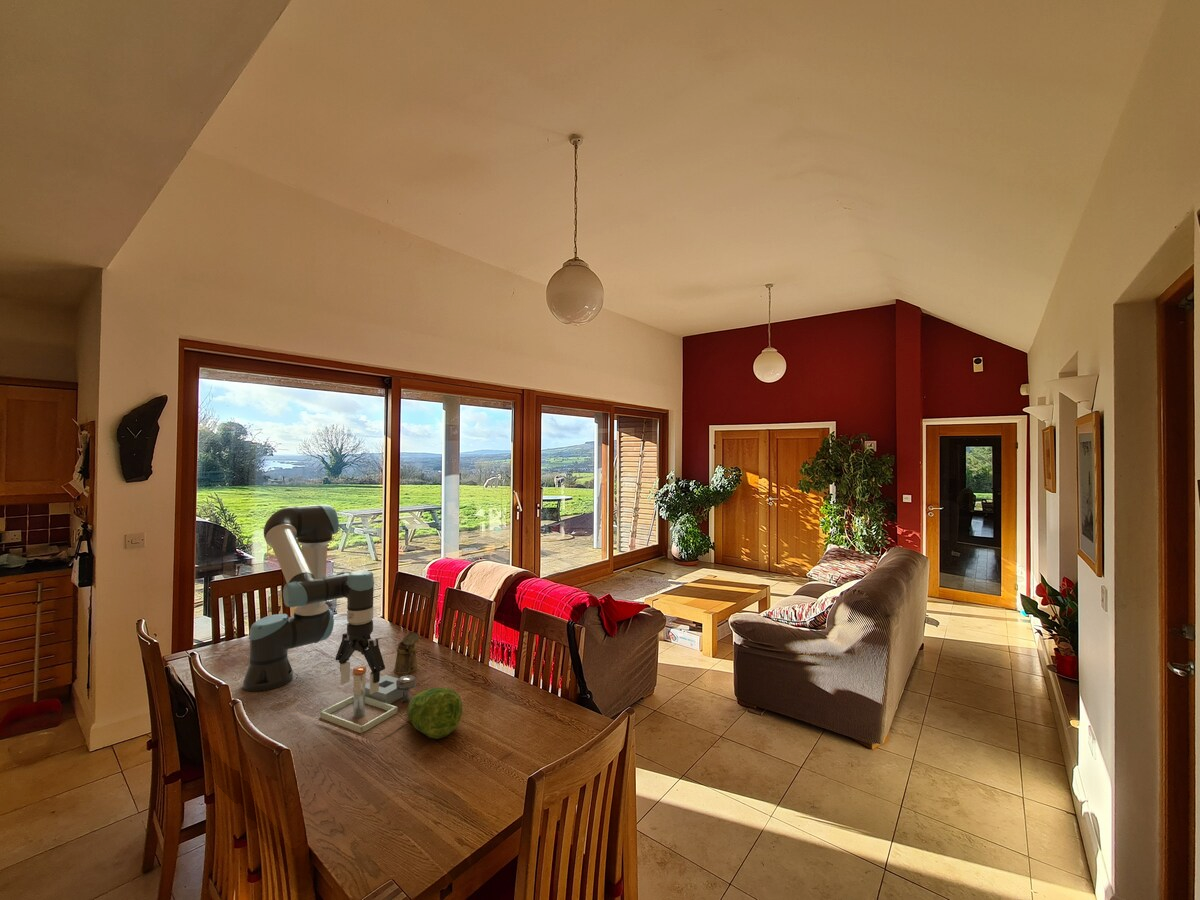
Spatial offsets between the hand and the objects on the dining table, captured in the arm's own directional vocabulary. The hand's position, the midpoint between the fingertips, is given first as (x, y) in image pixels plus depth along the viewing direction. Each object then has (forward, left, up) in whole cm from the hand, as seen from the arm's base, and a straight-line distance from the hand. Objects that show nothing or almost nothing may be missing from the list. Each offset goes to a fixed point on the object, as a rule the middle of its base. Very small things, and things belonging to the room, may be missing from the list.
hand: (359, 687), depth 157 cm
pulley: (+6, +14, -10) cm, 18 cm away
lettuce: (+24, +7, -10) cm, 27 cm away
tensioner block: (-3, +12, -10) cm, 16 cm away
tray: (0, 0, -10) cm, 10 cm away
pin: (0, 0, -9) cm, 9 cm away
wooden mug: (-11, +30, -10) cm, 33 cm away
